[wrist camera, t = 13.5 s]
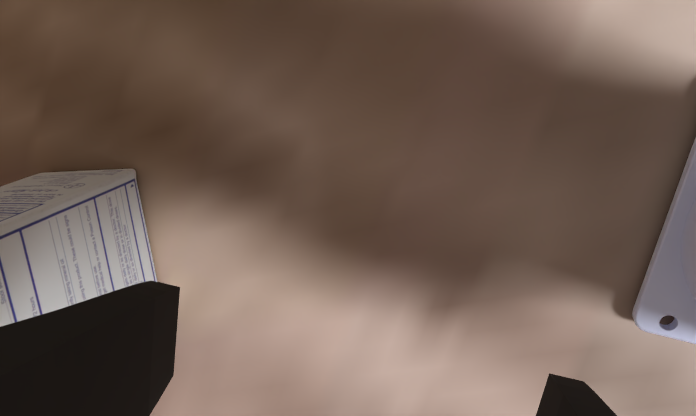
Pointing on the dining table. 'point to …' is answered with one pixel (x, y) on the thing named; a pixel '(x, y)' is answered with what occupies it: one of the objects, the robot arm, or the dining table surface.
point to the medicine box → (70, 240)
